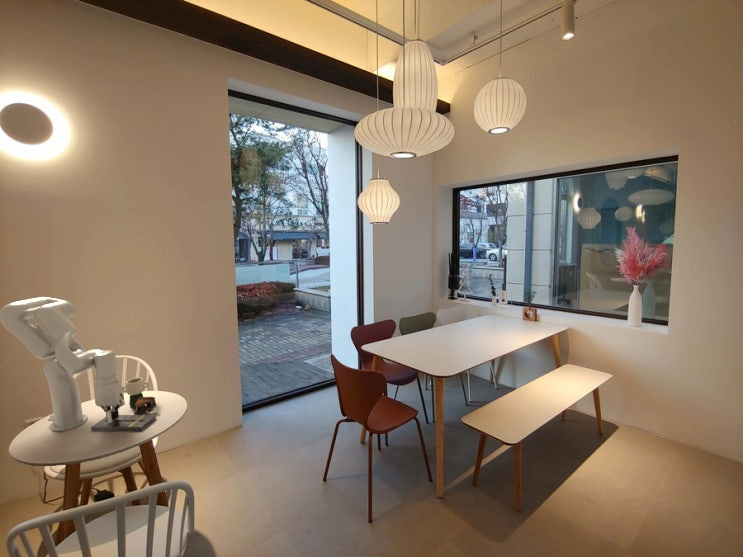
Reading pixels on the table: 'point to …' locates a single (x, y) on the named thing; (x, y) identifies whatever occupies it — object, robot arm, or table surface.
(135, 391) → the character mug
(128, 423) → the console
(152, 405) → the pottery mug
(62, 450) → the table surface
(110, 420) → the fader tab
